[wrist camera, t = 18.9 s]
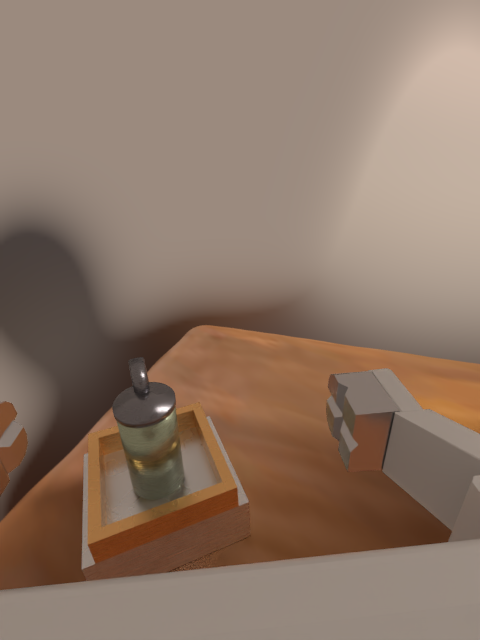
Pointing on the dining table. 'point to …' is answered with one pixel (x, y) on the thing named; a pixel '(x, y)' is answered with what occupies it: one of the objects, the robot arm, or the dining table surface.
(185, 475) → the open wooden box
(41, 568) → the dining table surface
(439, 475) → the robot arm
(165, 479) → the glass jar with lid
